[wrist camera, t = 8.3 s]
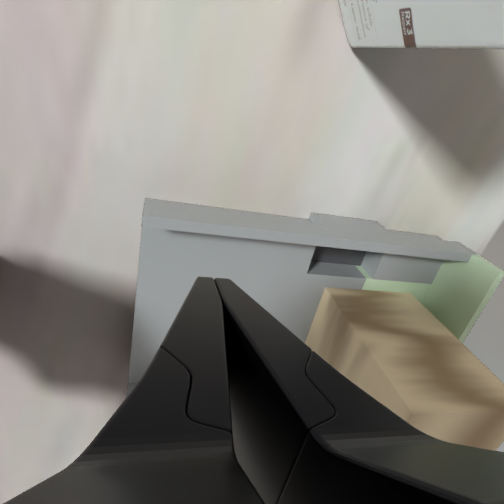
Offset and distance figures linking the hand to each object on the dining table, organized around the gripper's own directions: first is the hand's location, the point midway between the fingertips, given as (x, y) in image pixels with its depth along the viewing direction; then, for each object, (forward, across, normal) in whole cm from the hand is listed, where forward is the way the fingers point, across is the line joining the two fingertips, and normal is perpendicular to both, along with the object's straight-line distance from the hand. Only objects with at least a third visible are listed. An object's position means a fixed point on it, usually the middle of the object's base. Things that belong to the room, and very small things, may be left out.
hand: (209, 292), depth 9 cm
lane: (+13, -8, +9) cm, 18 cm away
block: (+11, -14, +9) cm, 20 cm away
